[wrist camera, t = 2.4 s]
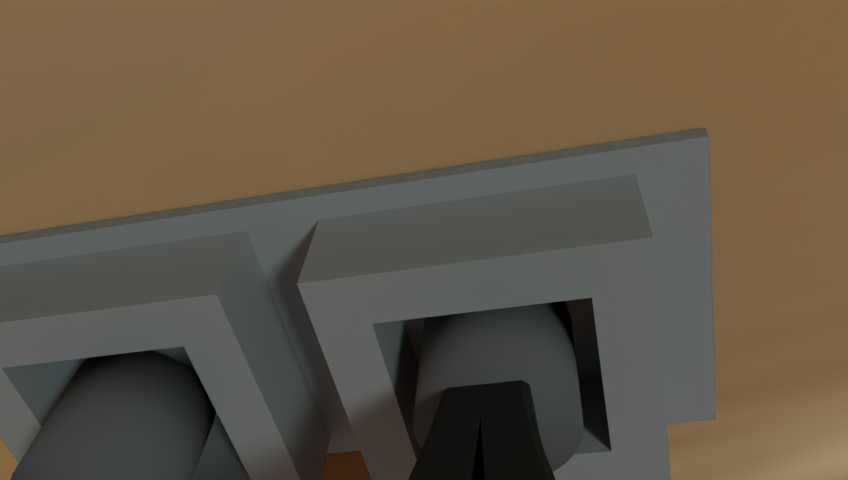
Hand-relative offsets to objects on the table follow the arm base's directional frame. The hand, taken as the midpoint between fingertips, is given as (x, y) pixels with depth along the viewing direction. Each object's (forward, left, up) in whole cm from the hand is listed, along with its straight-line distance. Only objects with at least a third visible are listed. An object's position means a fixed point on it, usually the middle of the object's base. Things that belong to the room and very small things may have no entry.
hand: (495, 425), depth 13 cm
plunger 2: (0, 0, -2) cm, 2 cm away
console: (+3, 0, -3) cm, 5 cm away
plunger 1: (+7, 0, -1) cm, 7 cm away
